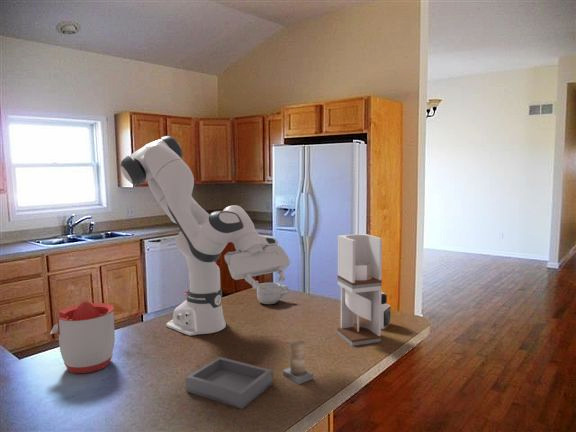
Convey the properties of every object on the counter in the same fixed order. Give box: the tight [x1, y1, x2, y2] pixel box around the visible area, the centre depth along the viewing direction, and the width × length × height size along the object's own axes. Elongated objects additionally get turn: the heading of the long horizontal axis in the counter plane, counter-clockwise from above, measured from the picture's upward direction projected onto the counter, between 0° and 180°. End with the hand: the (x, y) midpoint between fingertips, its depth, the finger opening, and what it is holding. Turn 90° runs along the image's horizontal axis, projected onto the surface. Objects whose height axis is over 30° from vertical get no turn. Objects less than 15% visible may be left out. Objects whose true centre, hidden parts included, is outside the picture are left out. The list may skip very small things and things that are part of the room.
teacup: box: [256, 282, 290, 305], centre depth 190 cm, size 14×11×8 cm
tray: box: [185, 356, 273, 410], centre depth 116 cm, size 18×14×4 cm
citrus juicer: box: [49, 300, 116, 374], centre depth 129 cm, size 16×17×20 cm
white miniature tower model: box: [337, 233, 383, 347], centre depth 148 cm, size 11×11×35 cm
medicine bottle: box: [381, 291, 391, 330], centre depth 162 cm, size 7×7×12 cm
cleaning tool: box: [282, 339, 314, 385], centre depth 122 cm, size 7×5×10 cm
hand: (270, 284), depth 132 cm, fingers open, 8 cm apart
